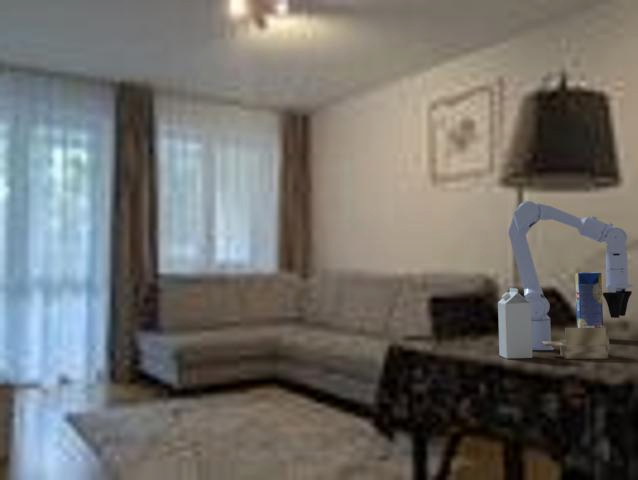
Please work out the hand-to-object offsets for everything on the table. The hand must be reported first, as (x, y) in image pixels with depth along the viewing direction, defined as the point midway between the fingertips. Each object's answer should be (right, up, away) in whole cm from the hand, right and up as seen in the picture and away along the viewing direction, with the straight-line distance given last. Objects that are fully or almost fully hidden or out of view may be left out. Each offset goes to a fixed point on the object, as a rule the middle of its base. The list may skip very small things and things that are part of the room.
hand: (618, 316), depth 203 cm
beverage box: (+3, -11, +30) cm, 32 cm away
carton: (-15, -10, -7) cm, 20 cm away
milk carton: (-31, -11, -7) cm, 34 cm away
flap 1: (-14, -4, -14) cm, 20 cm away
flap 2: (-8, -4, -11) cm, 14 cm away
